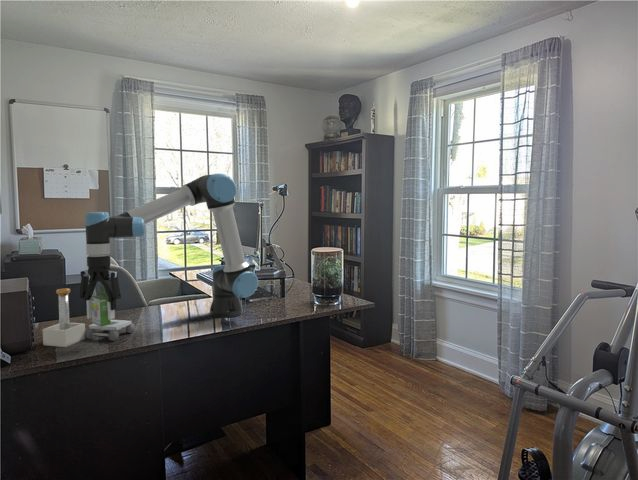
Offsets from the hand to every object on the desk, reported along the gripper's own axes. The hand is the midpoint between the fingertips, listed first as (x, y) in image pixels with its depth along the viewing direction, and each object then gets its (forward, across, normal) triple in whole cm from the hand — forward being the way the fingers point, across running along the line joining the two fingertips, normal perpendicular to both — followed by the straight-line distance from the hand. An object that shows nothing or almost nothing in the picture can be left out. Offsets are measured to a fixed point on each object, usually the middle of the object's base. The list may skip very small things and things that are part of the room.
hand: (101, 318), depth 158 cm
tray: (+10, +16, -1) cm, 19 cm away
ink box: (+2, 0, 0) cm, 2 cm away
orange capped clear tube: (+10, +16, -1) cm, 19 cm away
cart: (+10, +5, -11) cm, 16 cm away
